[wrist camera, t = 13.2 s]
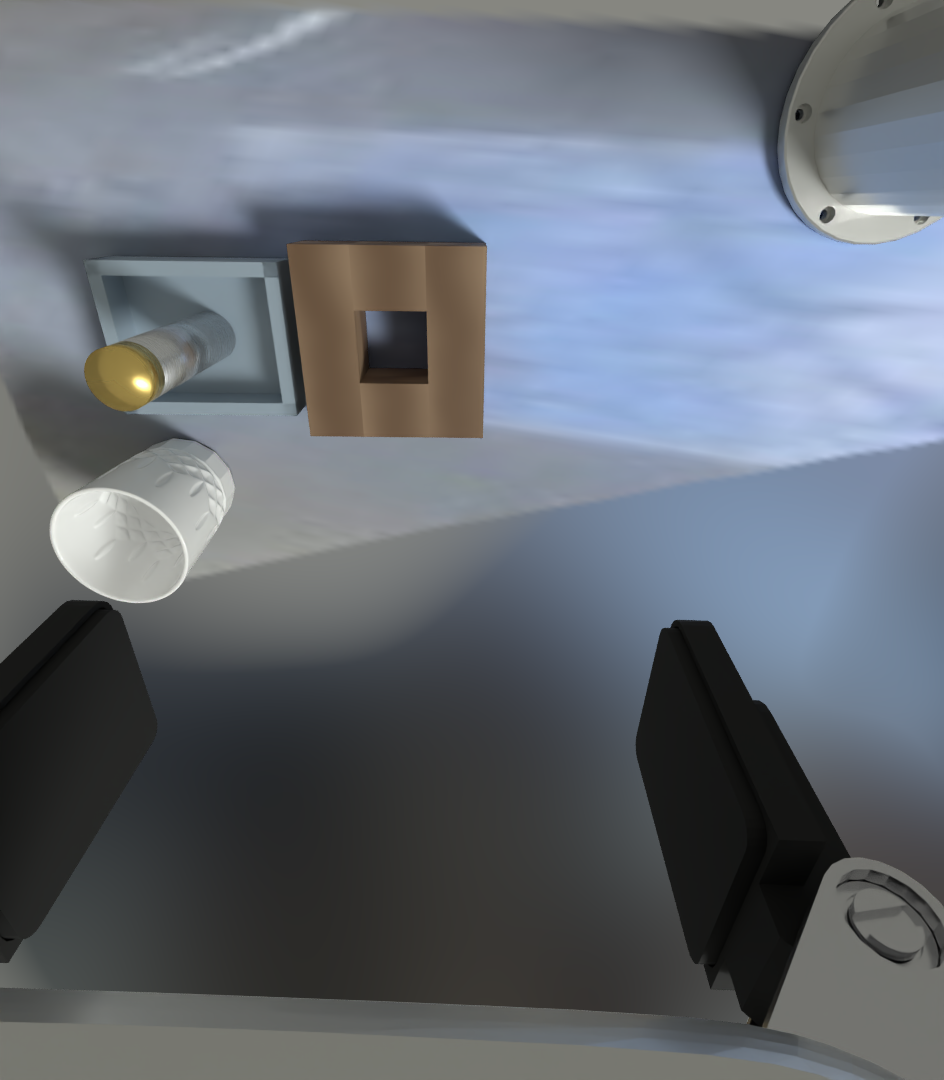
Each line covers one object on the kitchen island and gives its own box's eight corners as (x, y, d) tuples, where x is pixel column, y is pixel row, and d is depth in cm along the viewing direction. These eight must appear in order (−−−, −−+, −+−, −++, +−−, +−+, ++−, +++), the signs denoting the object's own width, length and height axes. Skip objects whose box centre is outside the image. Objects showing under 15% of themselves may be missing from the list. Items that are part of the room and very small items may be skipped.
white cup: (141, 521, 46) (63, 595, 37) (126, 422, 42) (35, 479, 33) (245, 533, 46) (193, 610, 37) (241, 437, 42) (181, 497, 34)
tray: (290, 258, 37) (276, 262, 34) (308, 402, 41) (296, 415, 38) (110, 256, 37) (82, 259, 34) (148, 400, 41) (125, 413, 38)
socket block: (485, 242, 36) (486, 246, 33) (481, 418, 42) (482, 437, 38) (304, 240, 36) (286, 244, 33) (324, 416, 41) (310, 435, 38)
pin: (230, 311, 37) (141, 347, 27) (239, 360, 39) (157, 411, 29) (183, 310, 37) (75, 346, 27) (193, 359, 39) (94, 411, 29)
